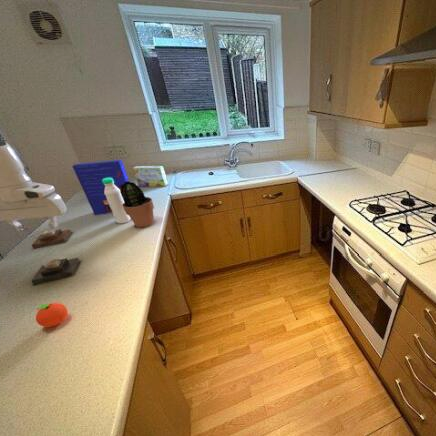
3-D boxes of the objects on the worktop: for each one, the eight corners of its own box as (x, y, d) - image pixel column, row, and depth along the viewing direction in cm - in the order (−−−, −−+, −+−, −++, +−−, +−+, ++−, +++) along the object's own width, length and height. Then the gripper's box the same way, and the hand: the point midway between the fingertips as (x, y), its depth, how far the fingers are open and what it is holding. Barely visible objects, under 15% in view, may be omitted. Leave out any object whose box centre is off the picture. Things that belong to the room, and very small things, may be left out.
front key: (46, 269, 93) (44, 266, 92) (50, 264, 96) (48, 260, 95) (58, 266, 94) (56, 263, 94) (61, 261, 97) (59, 258, 96)
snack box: (138, 186, 185) (131, 167, 178) (142, 184, 190) (136, 165, 183) (165, 186, 184) (159, 167, 177) (168, 184, 189) (163, 165, 182)
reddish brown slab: (33, 248, 112) (29, 241, 110) (42, 238, 120) (38, 231, 119) (65, 242, 117) (61, 235, 115) (72, 232, 125) (68, 226, 123)
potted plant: (163, 221, 134) (150, 178, 122) (139, 232, 124) (121, 187, 112) (150, 215, 140) (136, 174, 129) (126, 225, 130) (108, 182, 119)
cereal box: (137, 205, 154) (121, 158, 140) (136, 208, 149) (118, 161, 135) (98, 211, 148) (76, 163, 134) (94, 215, 143) (72, 165, 129)
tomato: (33, 329, 73) (21, 313, 70) (57, 311, 79) (46, 295, 76) (55, 333, 72) (43, 317, 69) (77, 314, 78) (66, 299, 75)
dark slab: (33, 285, 91) (28, 277, 89) (44, 269, 99) (39, 261, 97) (73, 275, 95) (68, 267, 93) (80, 261, 103) (76, 254, 101)
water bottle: (117, 225, 131) (99, 181, 119) (115, 220, 136) (98, 178, 124) (132, 221, 135) (115, 178, 123) (130, 216, 140) (114, 175, 128)
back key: (44, 237, 115) (42, 233, 114) (47, 233, 118) (45, 230, 117) (53, 235, 116) (51, 232, 115) (56, 231, 119) (54, 228, 118)
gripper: (-33, 198, 72) (-5, 237, 79) (46, 192, 76) (66, 229, 82) (-14, 191, 78) (10, 227, 84) (59, 185, 81) (76, 221, 88)
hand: (38, 228), depth 83 cm, fingers open, 8 cm apart
